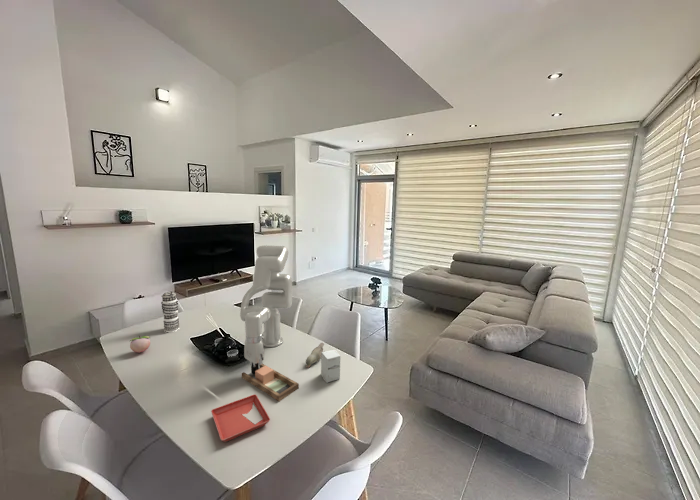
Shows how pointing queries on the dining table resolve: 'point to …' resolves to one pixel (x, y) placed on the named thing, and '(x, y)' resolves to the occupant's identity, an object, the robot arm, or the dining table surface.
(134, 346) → the decorative fruit
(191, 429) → the dining table surface
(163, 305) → the model tower building
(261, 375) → the terracotta block
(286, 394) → the wooden tray
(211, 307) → the dining table surface
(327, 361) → the supplement box
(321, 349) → the decorative bird
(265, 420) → the red shallow tray
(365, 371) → the dining table surface
